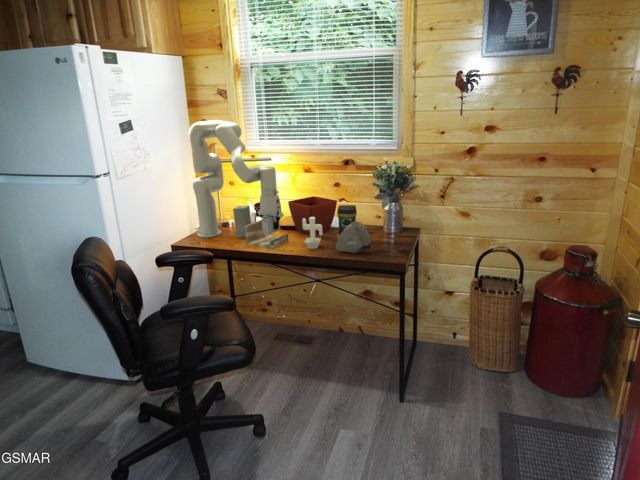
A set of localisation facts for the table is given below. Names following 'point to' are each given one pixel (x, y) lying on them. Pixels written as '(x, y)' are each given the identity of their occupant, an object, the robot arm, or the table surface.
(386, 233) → the table surface
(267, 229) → the medicine box
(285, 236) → the grey angle bracket
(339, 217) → the coffee jar
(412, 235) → the table surface
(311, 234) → the figurine
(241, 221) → the skincare box
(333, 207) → the plant pot
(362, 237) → the decorative rock
